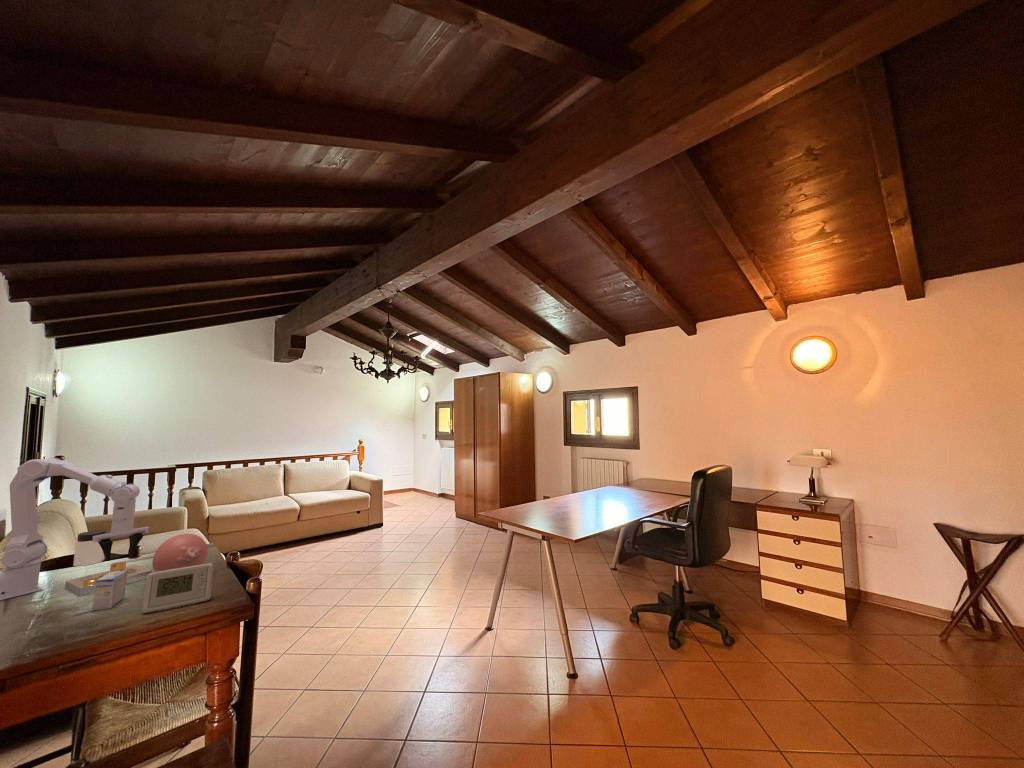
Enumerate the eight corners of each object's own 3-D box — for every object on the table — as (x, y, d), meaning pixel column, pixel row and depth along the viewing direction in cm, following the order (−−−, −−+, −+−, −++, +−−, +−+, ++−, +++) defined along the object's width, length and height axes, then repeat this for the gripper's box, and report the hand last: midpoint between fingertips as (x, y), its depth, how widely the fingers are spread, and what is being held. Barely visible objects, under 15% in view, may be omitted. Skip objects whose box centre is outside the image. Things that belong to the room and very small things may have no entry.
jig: (79, 596, 126) (81, 585, 127) (64, 588, 133) (66, 577, 133) (150, 577, 142) (151, 567, 143) (134, 571, 149) (135, 561, 149)
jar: (100, 558, 165) (103, 528, 167) (108, 560, 161) (111, 530, 163) (69, 564, 157) (73, 533, 159) (76, 567, 154) (80, 536, 155)
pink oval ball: (159, 593, 128) (164, 545, 130) (145, 580, 140) (149, 535, 142) (216, 579, 140) (219, 535, 142) (198, 567, 152) (202, 527, 154)
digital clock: (137, 616, 113) (141, 577, 114) (151, 603, 121) (154, 567, 122) (206, 605, 119) (209, 569, 120) (215, 594, 127) (217, 560, 128)
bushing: (111, 583, 137) (113, 565, 138) (106, 582, 138) (108, 564, 139) (126, 579, 140) (128, 562, 141) (121, 578, 142) (123, 561, 143)
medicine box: (106, 600, 123) (109, 571, 124) (124, 598, 125) (127, 569, 126) (91, 611, 116) (94, 580, 117) (111, 608, 118) (114, 578, 119)
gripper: (99, 524, 134) (95, 565, 132) (153, 516, 146) (150, 553, 145) (91, 522, 137) (87, 562, 135) (145, 514, 150) (141, 551, 148)
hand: (119, 558), depth 140 cm, fingers open, 6 cm apart
